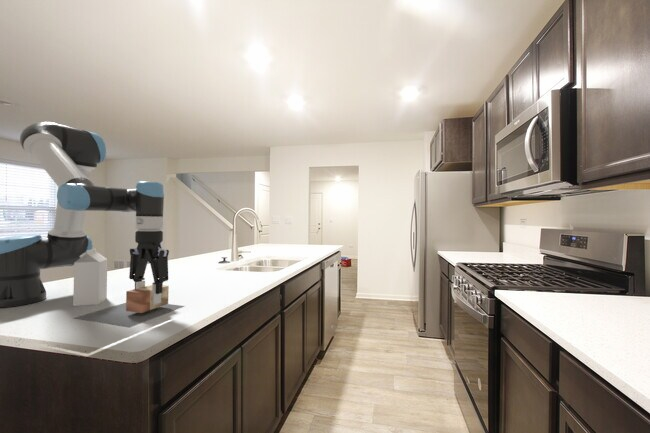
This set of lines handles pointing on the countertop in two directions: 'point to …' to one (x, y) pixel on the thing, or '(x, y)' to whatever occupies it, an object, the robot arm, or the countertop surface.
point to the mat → (126, 315)
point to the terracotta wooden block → (144, 299)
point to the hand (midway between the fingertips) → (148, 302)
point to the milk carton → (90, 279)
